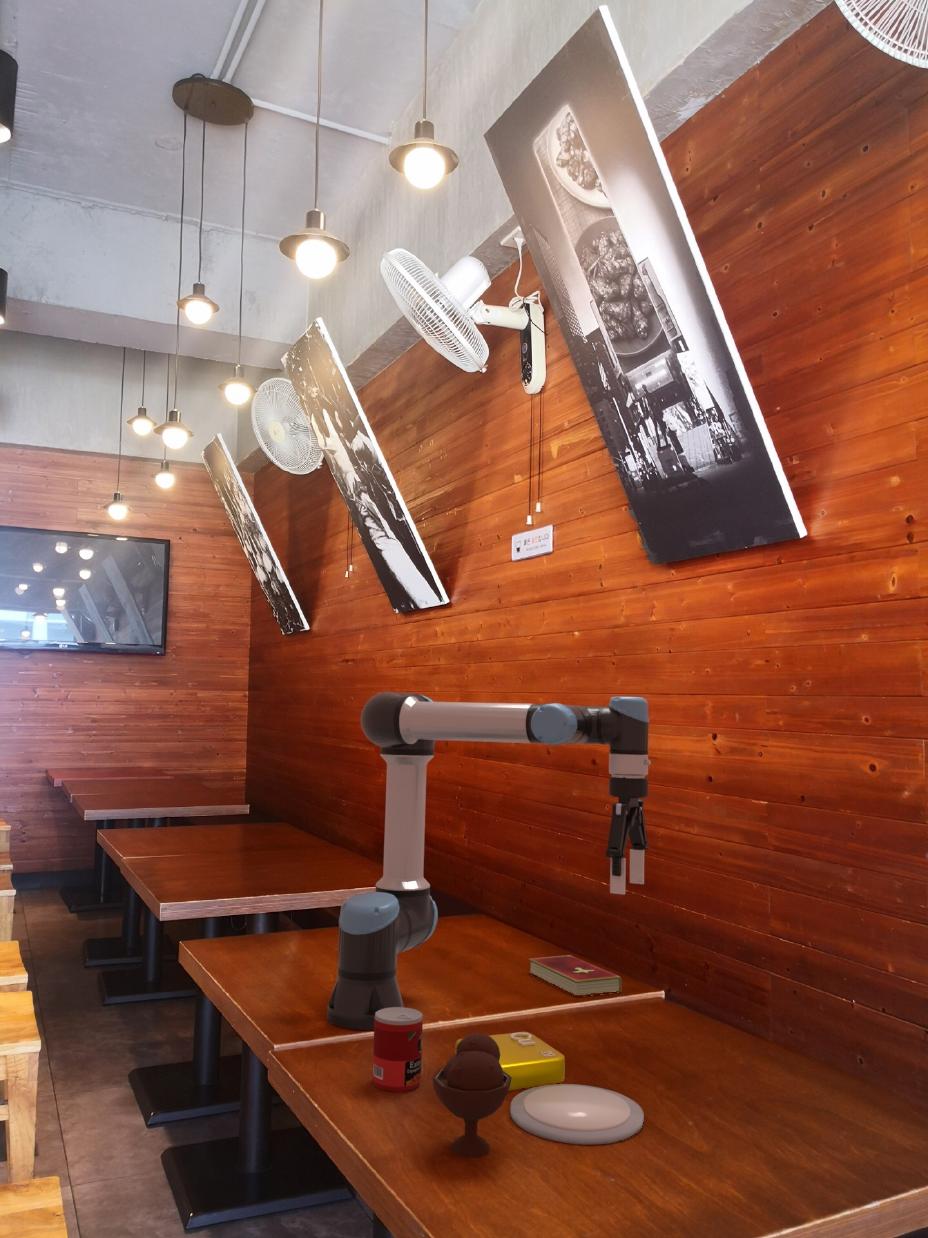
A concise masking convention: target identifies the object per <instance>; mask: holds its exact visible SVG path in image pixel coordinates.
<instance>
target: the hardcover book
mask: <svg viewBox="0 0 928 1238" xmlns="http://www.w3.org/2000/svg"><path fill="white" fill-rule="evenodd" d="M528 961H529V962H530V972H529V973H533V974H534V975H537V976H538V977H541V978H542V979H544V980H546V981H548V982H549V983H552V984H555V985H556V986H559V987H560V988H563V989H564V990H566V991H568V992H571V993H573V994H574V995H586V994H591V993H603V992H616V991H619V992H621V993H622V990H623V989H622V987H623V981H622V978H621V976H619V975H618V974H615V973H613V972H611V971H608V970H606V969H603V968H601V967H599V966H597V965H594V964H592V963H589V962H587V961H585V960H582V959H580V958H578V957H575V956H573V955H571V954H567V955H557V956H556V955H555V956H545V957H543V956H542V957H535V958H532V957H531V958H528ZM549 983H548V984H549ZM619 992H618V993H619Z"/></svg>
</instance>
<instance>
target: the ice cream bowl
mask: <svg viewBox="0 0 928 1238" xmlns="http://www.w3.org/2000/svg"><path fill="white" fill-rule="evenodd" d="M461 1039H462V1040H461V1041H460V1042H459V1044H458V1046H457V1048H456V1047H455V1053H454V1054H453V1055H452V1056H451V1057H449V1059H448V1060H447V1062H446V1064H445V1065H444V1067H442V1068H438V1069H437V1070H436V1072H435V1074H434V1075H433V1076H432V1084H433V1089H434V1092H435V1094H436V1097H437V1098H438V1100H439V1101H440V1102H441V1103H442V1105H444V1107H445V1108H446V1109H447V1110H448V1111H449V1112H450V1114H452V1115H454V1116H455V1117H456V1118H460V1119H463V1122H464V1134H463V1135H461V1136H459V1137H457V1138H455V1139H454V1140H453V1141H452V1144H451V1146H450V1150H451V1151H452V1152H453V1153H454V1155H457V1156H461V1157H464V1158H481V1157H483V1156H486V1155H489V1153H490V1150H491V1145H490V1143H489V1142H488V1141H487V1140H485V1139H484V1138H483V1137H482V1136H479V1135H478V1123H479V1120H481V1119H485V1118H488V1117H489V1116H491V1115H493V1114H494V1113H495V1112H496V1111H497V1110H499V1109H500V1108H501V1107H502V1106H503V1104H504V1101H505V1099H506V1097H507V1095H508V1093H509V1089H510V1084H511V1079H512V1077H511V1076H509V1075H508V1074H507V1073H506V1072H504V1071H503V1069H502V1067H501V1065H500V1063H499V1059H500V1050H499V1047H498V1045H497V1043H496V1042H495V1041H494V1040H493V1039H492V1038H491V1037H490V1035H489V1034H486V1033H481V1032H474V1033H469V1034H468V1035H467V1036H464V1037H463V1038H461Z"/></svg>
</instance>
